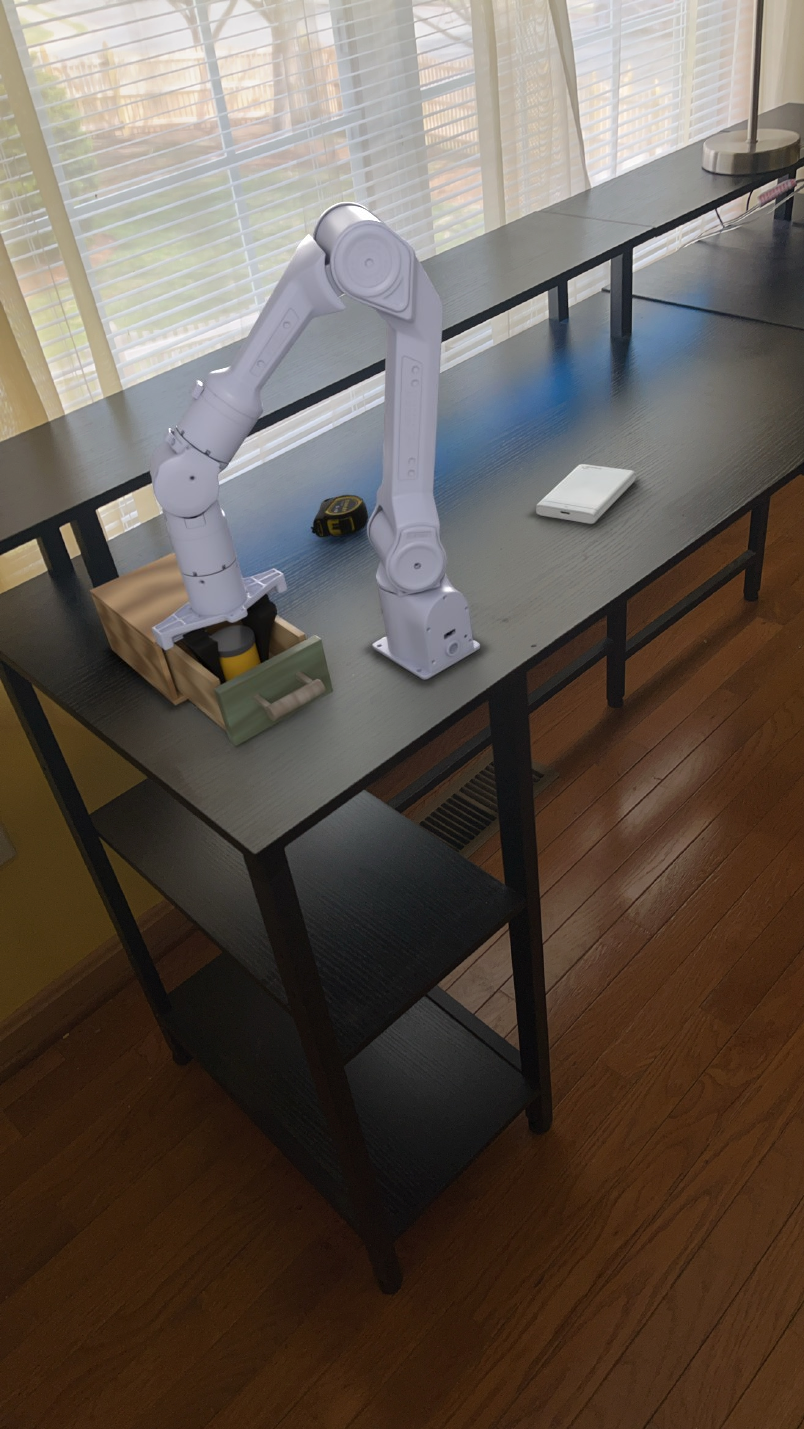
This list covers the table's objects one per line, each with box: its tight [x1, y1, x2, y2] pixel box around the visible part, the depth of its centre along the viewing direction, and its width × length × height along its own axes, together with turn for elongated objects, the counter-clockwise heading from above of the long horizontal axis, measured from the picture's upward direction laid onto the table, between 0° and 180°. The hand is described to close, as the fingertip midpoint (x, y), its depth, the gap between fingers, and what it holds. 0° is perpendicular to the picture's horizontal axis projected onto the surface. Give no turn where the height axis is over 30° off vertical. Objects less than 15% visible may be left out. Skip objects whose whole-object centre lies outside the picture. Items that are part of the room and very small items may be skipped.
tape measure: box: [310, 494, 369, 538], centre depth 136 cm, size 7×7×4 cm
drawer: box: [161, 615, 334, 747], centre depth 106 cm, size 20×12×7 cm, turn 39°
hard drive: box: [535, 463, 636, 525], centre depth 134 cm, size 2×8×12 cm
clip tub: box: [211, 625, 261, 682], centre depth 108 cm, size 5×5×5 cm
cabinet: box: [89, 551, 245, 706], centre depth 116 cm, size 16×13×8 cm
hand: (240, 674), depth 109 cm, fingers closed on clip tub, 5 cm apart
